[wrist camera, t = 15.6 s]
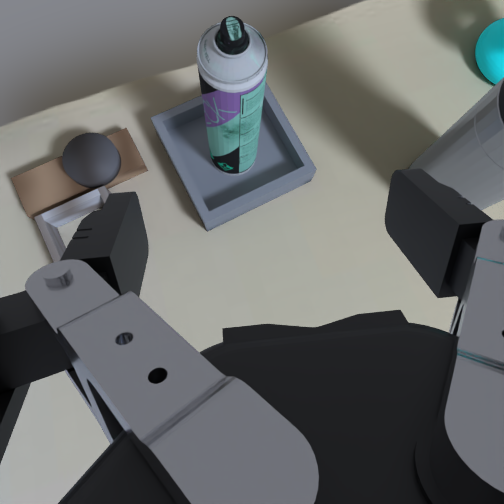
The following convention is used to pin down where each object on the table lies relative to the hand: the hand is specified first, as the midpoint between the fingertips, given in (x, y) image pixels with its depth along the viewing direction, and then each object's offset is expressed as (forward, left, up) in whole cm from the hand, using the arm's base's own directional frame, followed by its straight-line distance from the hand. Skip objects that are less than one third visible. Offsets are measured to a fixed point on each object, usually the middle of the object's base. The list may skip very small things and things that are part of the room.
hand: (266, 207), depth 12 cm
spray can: (-6, -15, -31) cm, 36 cm away
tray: (-7, -16, -32) cm, 36 cm away
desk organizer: (+11, -17, -32) cm, 38 cm away
